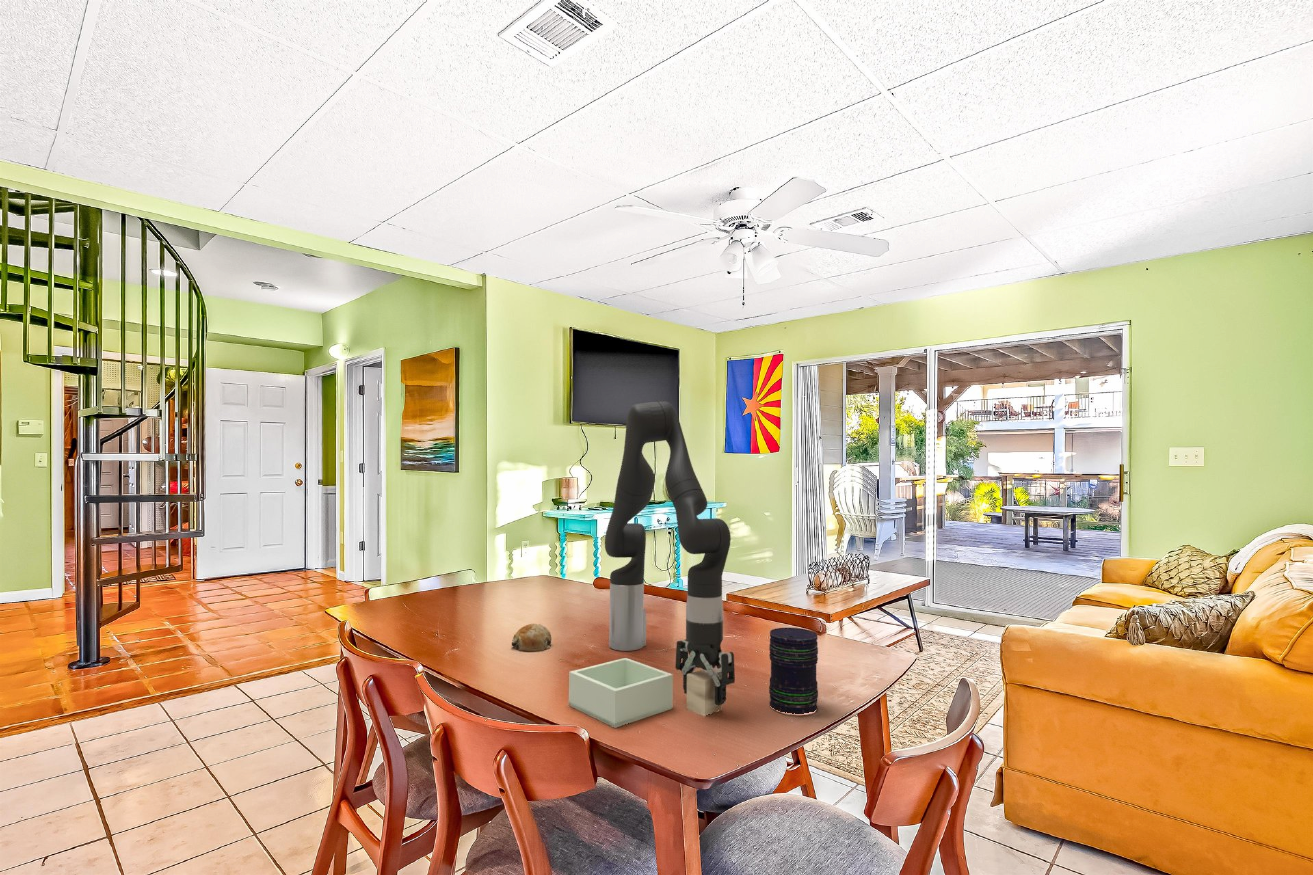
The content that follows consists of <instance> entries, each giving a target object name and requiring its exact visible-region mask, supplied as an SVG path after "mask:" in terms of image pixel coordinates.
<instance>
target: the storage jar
mask: <svg viewBox="0 0 1313 875" xmlns="http://www.w3.org/2000/svg"><path fill="white" fill-rule="evenodd" d="M769 637H770V638H769V645H768V647H769V648H768V650H769V654H768V655H769V660H770V677H769V686H768V693H769V707H770V706H771V707H772V708H774V709H775V710H778V711H780V712H785V713H786V712H787V713H792V714H794V713H795V714H804V713H809V712H814V711H815V710H816V709H817V710H818V704H817V703H818V698H819V690H818V680H817V664H818V660H819V656H818V654H819V647H818V638H819V637H818V633H817V632H815V631H813V630H810V629H806V628H799V627H777V628H773V629H771V630H770V631H769Z"/></svg>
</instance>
